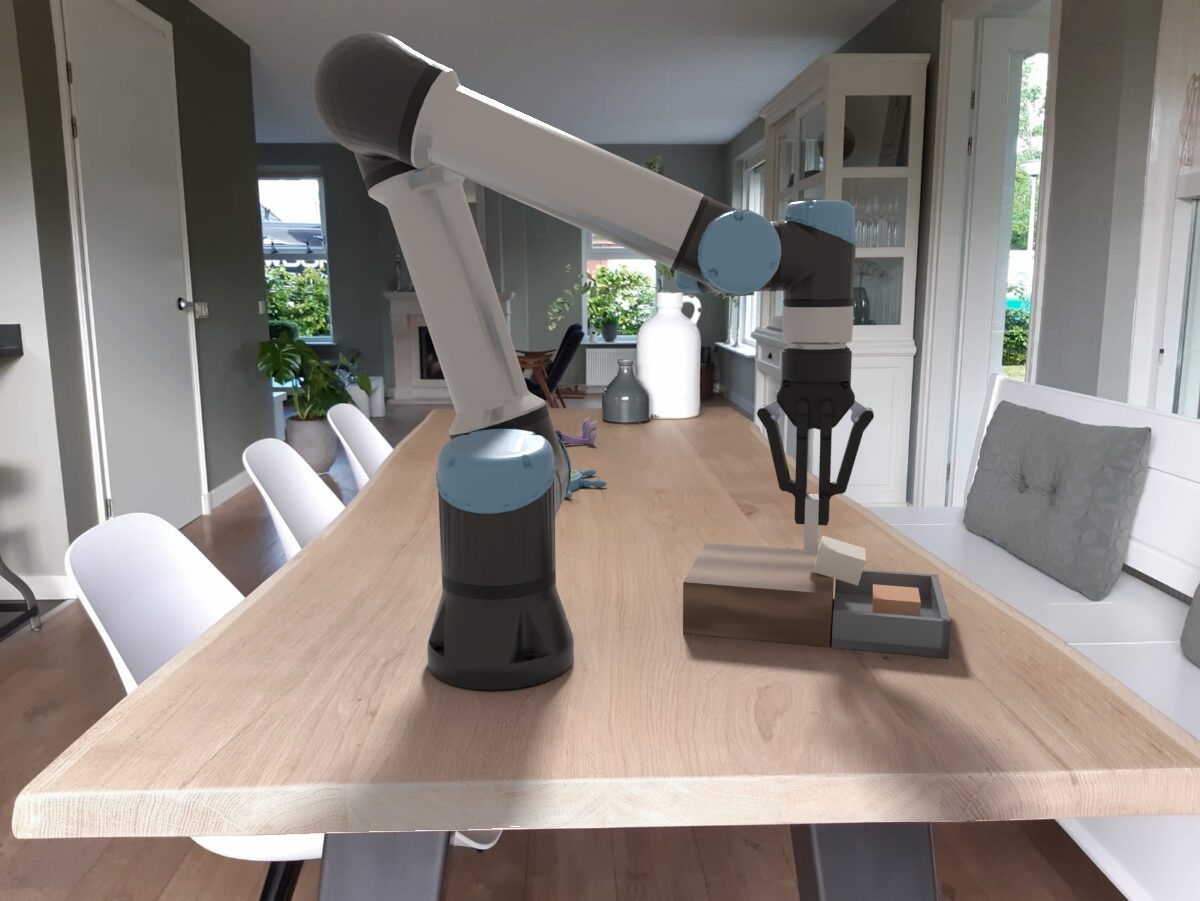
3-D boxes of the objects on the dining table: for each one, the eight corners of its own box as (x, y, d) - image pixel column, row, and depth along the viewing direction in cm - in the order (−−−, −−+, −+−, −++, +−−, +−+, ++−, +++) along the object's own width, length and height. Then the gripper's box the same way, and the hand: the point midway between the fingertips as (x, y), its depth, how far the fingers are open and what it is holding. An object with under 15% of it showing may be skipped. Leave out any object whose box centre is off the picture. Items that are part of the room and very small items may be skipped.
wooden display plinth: (829, 647, 99) (831, 593, 97) (682, 633, 103) (683, 581, 102) (833, 598, 114) (835, 551, 113) (704, 587, 118) (705, 542, 117)
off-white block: (857, 585, 102) (865, 560, 101) (813, 571, 103) (821, 547, 102) (857, 571, 107) (865, 548, 106) (815, 558, 108) (822, 535, 107)
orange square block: (873, 598, 102) (871, 624, 102) (920, 602, 100) (919, 628, 101) (872, 584, 107) (871, 608, 107) (918, 587, 105) (916, 612, 106)
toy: (609, 426, 211) (480, 417, 201) (605, 465, 212) (476, 459, 203) (577, 410, 235) (461, 402, 226) (574, 446, 237) (458, 439, 227)
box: (948, 658, 95) (950, 621, 95) (831, 647, 98) (833, 611, 98) (935, 606, 111) (937, 574, 110) (834, 598, 114) (835, 567, 113)
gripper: (877, 343, 103) (869, 546, 107) (760, 343, 106) (756, 539, 111) (879, 348, 96) (870, 565, 100) (753, 347, 99) (750, 557, 104)
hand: (810, 551), depth 105 cm, fingers closed
